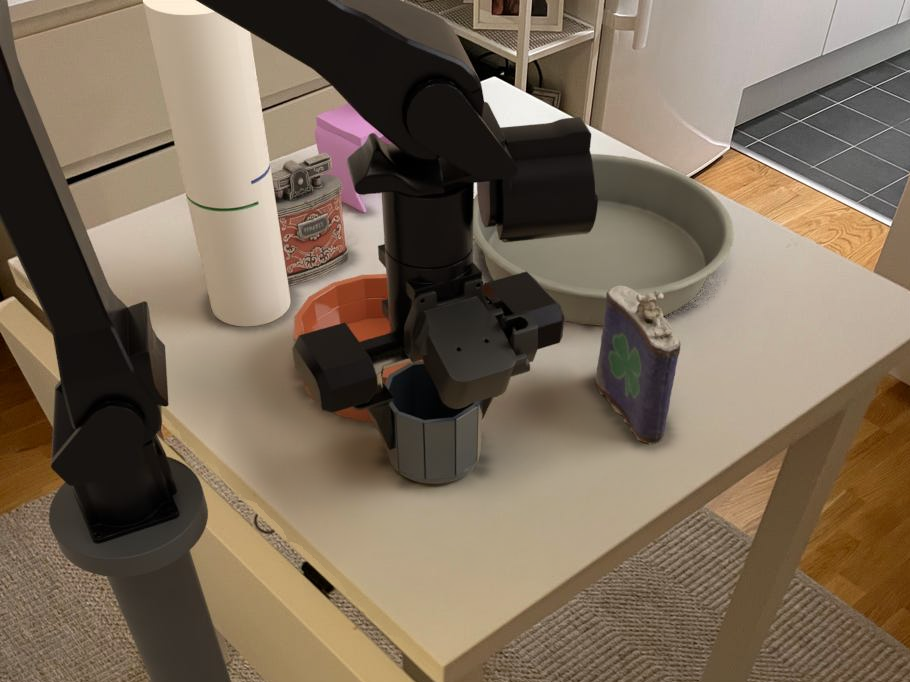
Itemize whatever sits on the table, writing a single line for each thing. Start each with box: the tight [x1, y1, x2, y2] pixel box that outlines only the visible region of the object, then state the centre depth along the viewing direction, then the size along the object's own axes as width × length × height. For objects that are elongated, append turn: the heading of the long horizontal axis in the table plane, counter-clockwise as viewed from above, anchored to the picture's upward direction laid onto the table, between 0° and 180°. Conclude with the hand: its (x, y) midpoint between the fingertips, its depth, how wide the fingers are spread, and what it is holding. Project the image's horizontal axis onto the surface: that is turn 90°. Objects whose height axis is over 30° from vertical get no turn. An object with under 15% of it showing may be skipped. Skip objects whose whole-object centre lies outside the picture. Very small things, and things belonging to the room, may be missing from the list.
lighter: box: [271, 153, 350, 286], centre depth 90 cm, size 8×3×10 cm, turn 130°
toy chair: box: [314, 102, 394, 214], centre depth 97 cm, size 8×9×15 cm
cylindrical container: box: [142, 0, 291, 327], centre depth 81 cm, size 7×7×25 cm
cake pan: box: [473, 153, 735, 326], centre depth 94 cm, size 25×25×4 cm
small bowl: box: [385, 361, 483, 485], centre depth 76 cm, size 7×8×6 cm
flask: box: [594, 286, 681, 446], centre depth 78 cm, size 9×3×11 cm, turn 24°
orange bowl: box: [293, 273, 423, 423], centre depth 83 cm, size 14×14×4 cm
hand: (433, 432), depth 76 cm, fingers closed on small bowl, 7 cm apart
